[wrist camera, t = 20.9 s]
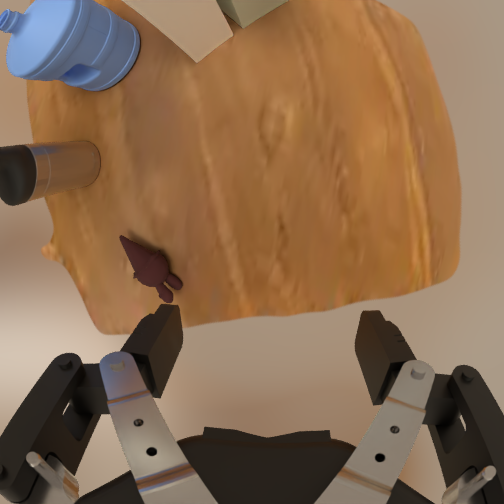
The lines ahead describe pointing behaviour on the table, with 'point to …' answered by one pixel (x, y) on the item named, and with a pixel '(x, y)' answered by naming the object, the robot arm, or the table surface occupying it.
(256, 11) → the sage step
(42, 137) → the table surface
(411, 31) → the table surface
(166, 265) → the icecream
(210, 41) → the off-white stand
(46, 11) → the water jug
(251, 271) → the table surface
